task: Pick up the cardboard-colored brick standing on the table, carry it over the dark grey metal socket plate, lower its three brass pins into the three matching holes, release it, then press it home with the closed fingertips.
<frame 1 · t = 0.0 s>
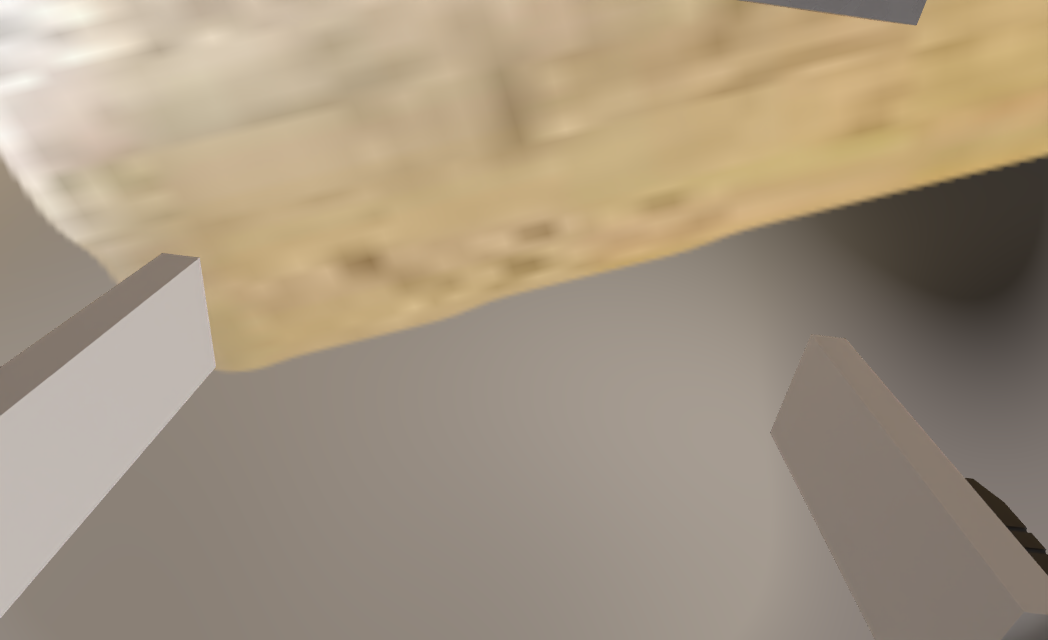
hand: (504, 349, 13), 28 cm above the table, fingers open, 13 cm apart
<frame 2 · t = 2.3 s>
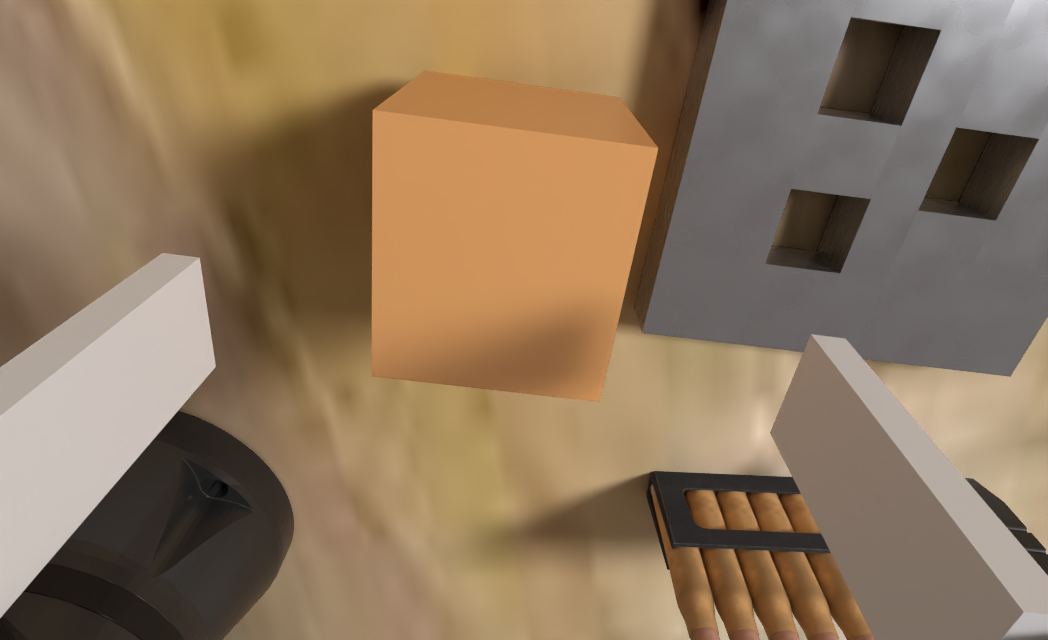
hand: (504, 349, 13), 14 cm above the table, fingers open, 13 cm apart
cardboard-colored brick: (512, 176, 26), on the table
socket plate: (879, 151, 25), on the table
ammunition clip: (741, 484, 34), on the table
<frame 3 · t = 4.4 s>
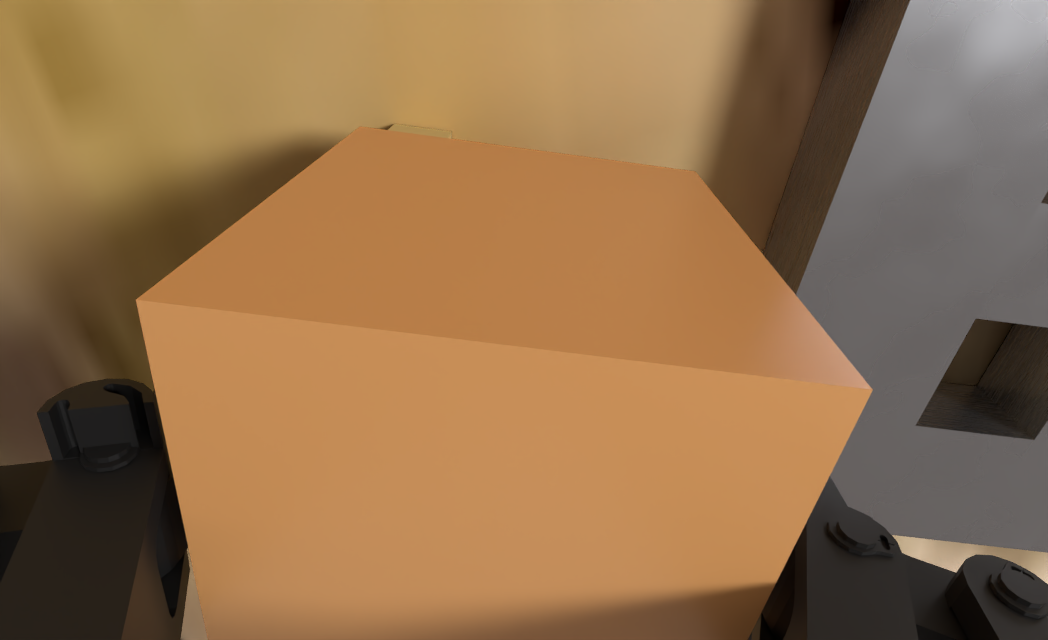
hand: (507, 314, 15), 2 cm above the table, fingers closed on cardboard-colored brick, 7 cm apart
cardboard-colored brick: (511, 278, 17), on the table, touching gripper
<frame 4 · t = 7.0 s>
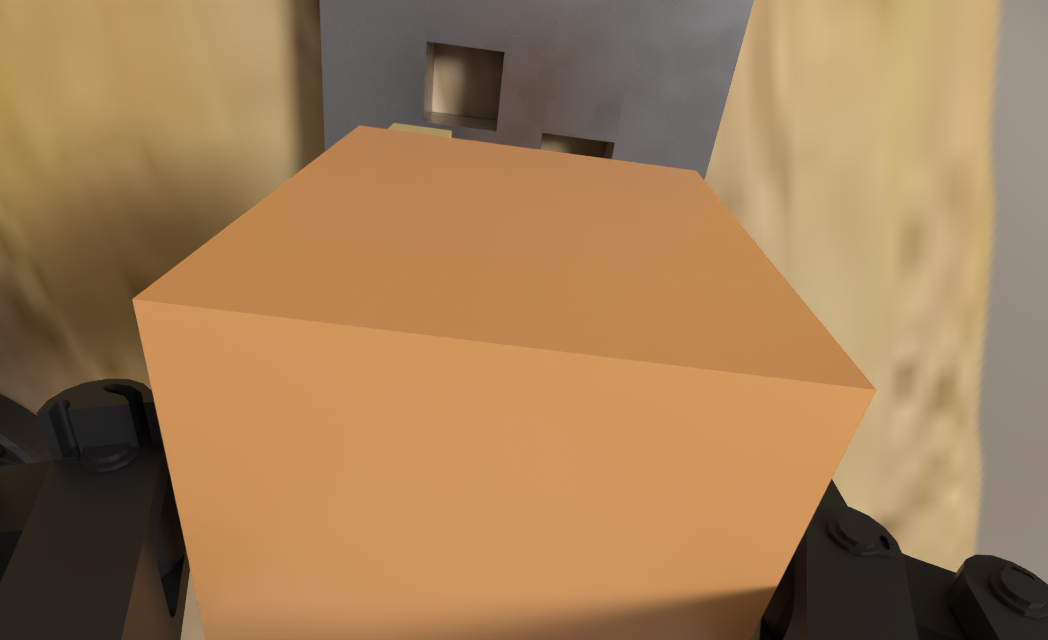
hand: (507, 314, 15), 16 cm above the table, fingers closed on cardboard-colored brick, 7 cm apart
cardboard-colored brick: (512, 277, 16), point 14 cm above the table, touching gripper
socket plate: (517, 153, 29), on the table
when the fingers open (3 cm above the table, at t = 9.7 s): cardboard-colored brick stays where it is, resting on socket plate.
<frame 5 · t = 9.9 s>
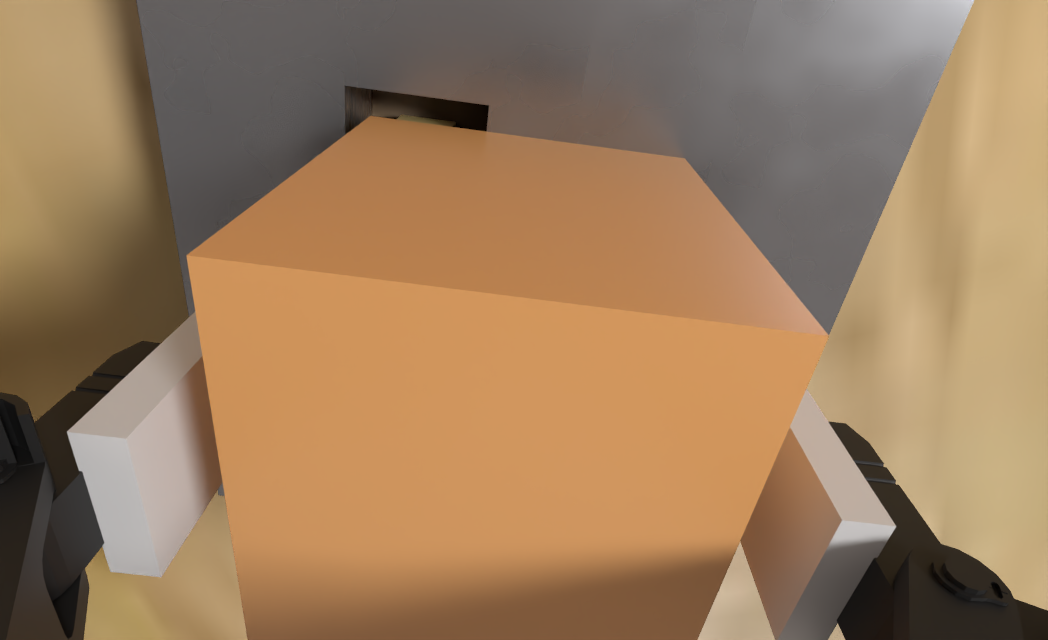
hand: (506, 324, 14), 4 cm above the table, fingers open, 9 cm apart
cardboard-colored brick: (512, 262, 17), resting on socket plate
socket plate: (514, 258, 18), on the table
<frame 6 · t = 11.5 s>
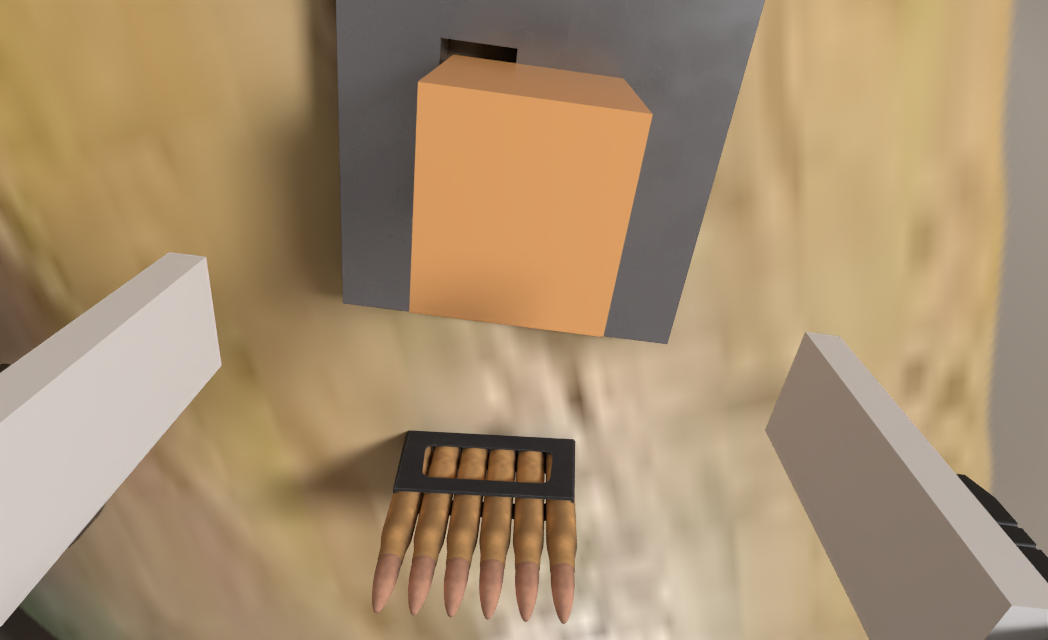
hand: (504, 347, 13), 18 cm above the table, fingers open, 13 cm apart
cardboard-colored brick: (528, 150, 29), resting on socket plate
socket plate: (528, 149, 29), on the table
ammunition clip: (490, 443, 39), on the table
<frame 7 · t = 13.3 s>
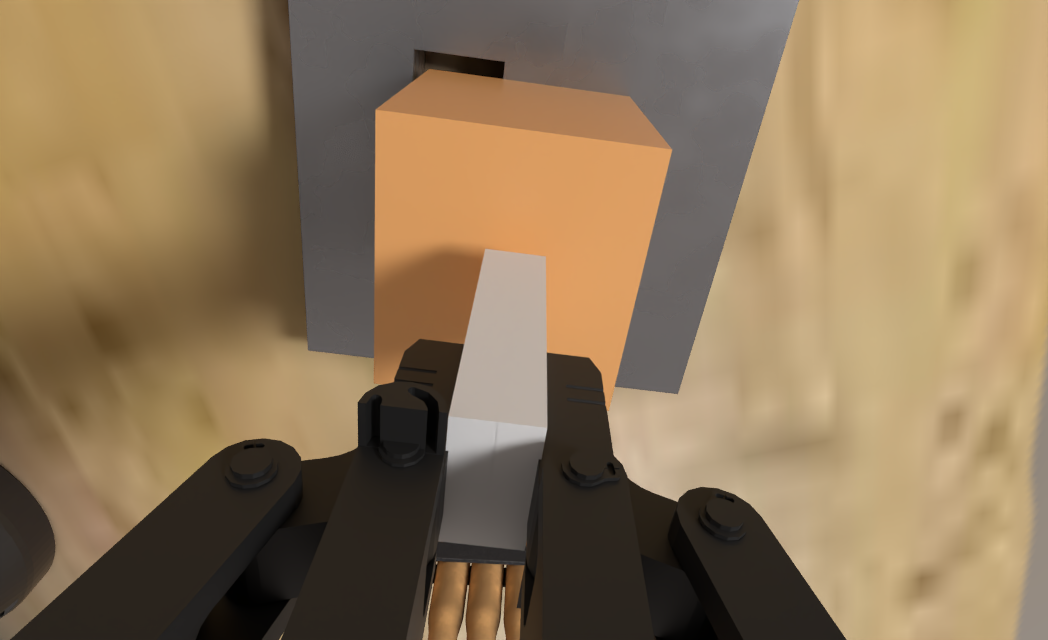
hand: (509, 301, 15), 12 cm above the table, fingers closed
cardboard-colored brick: (518, 177, 25), resting on socket plate
socket plate: (519, 175, 26), on the table
ammunition clip: (479, 495, 35), on the table
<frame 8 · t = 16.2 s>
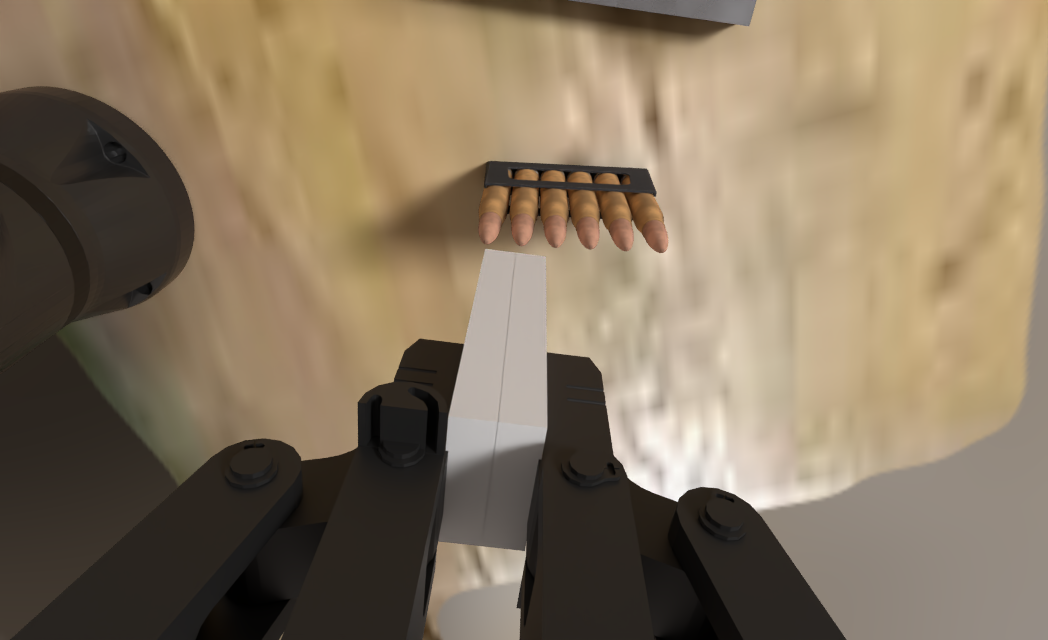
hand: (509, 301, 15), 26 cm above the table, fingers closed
ammunition clip: (566, 177, 41), on the table
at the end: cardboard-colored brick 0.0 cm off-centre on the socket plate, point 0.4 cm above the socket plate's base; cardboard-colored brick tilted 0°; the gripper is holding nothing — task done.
